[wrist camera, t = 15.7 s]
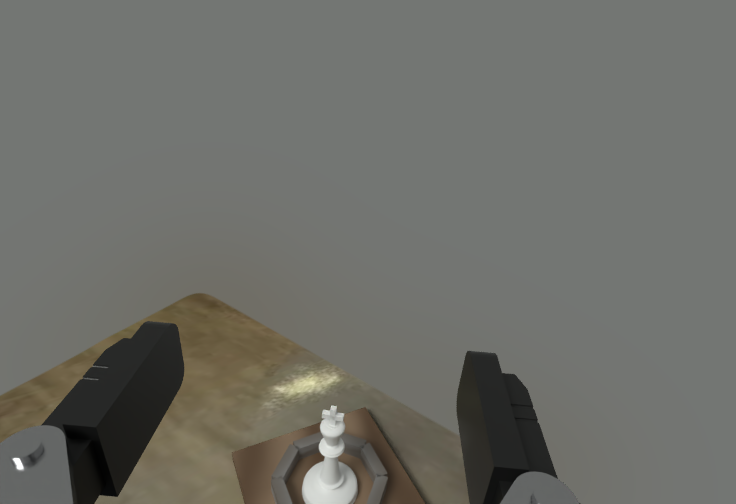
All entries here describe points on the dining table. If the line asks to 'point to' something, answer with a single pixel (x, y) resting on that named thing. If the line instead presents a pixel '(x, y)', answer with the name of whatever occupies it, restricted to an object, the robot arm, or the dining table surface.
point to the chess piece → (330, 467)
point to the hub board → (301, 452)
